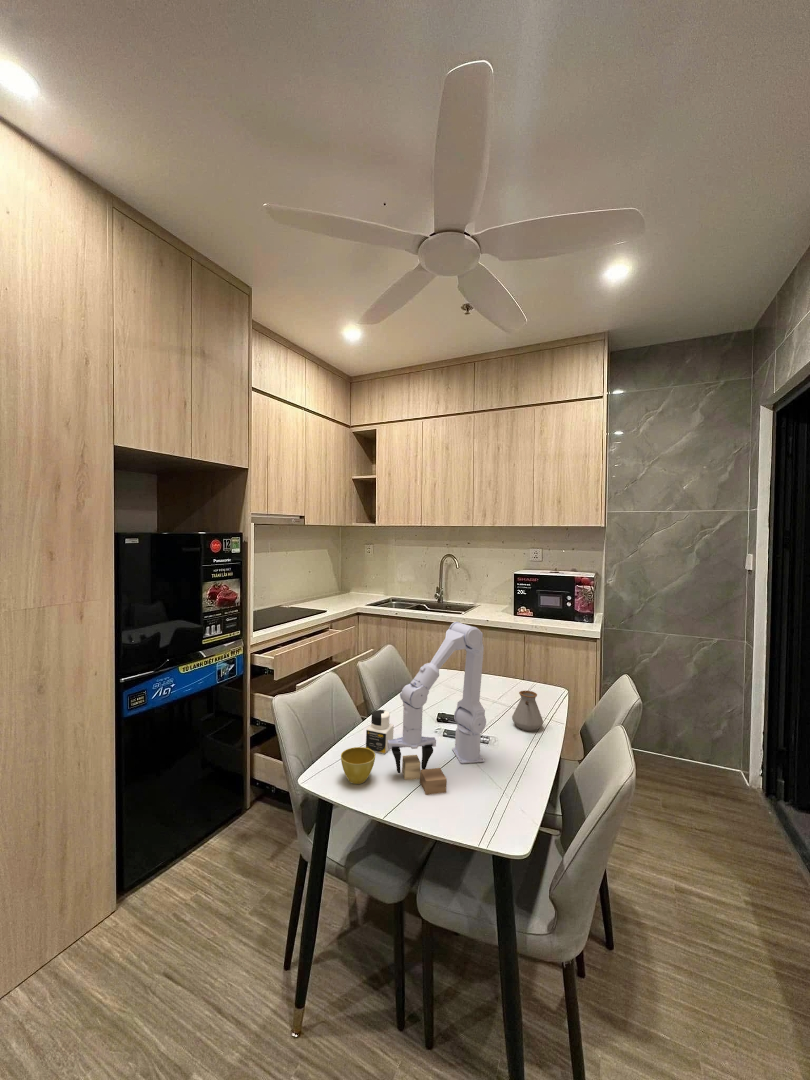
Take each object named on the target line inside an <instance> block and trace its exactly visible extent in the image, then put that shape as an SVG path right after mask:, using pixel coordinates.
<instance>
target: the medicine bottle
mask: <svg viewBox="0 0 810 1080" xmlns="http://www.w3.org/2000/svg"><path fill="white" fill-rule="evenodd" d="M370 723H371V724H370V725H369V726H368V727H367V728H366V734H365V735H366V736H365V748H368V749H370V750H372V751H373V752H374V753H378V754H383V755H385V754H387V753H388V751H389V750H390V749H388V746H387V744H388V740H392V739H394V724H393V723H390V712H389V711H387V710H384V709H377V710H374V711H373V712H372V713H371V722H370Z"/></svg>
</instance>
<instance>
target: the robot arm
mask: <svg viewBox="0 0 810 1080" xmlns="http://www.w3.org/2000/svg"><path fill="white" fill-rule="evenodd" d="M483 635H484V633H483V632H482V631H481V630H480V629H479V628H478V627H476V626H472V625H469V624H465V623H461V622H460V621H454V622H452V623H451V624H450V626H449V628H448V629H447V630H446V631H445V638H444V639H443V641H442V643H441V645H440V646H439V647H438V650H437V651H436V652H435V654H434V655H433V657H432V659H431V661H430V662H427V663H424V664H423V665H422V666H421V667H420V668H419V671H418V672H417V673H416V675H414V678H413V679H412V680H411V681H410V683H408V684H406V685H404V686H403V688H402V690H401V692H400V693H399V698H400V700H401V701H402V706H403V716H402V736H401V737H397V738H393V739H392V740H388V744H387V746H388V749H389V750H391V752H392V755H393V757H394V760H395V765H396V767H395V768H396V772H397V774H400V773H401V758H402V752H401V749H400V748H410V749H412V750H416V749H418V748H419V747H421V763H420V767H421V770H422V769H427V765H428V763H429V760H430V758H431V756H432V755H433V753H434V747H437V739H436V737H429V736H423V735H422V733H423V712H424V711H423V706H424V705H425V704H426V703H427V701H428V695H429V693H430V690H431V688H432V687H433V686H434V684H435V682H436V681H437V680H438V678H439V677H440V669H441V668H442V667H443V666H444V664H445V663H446V662H447V661H448V660H449V658H451V656H452V654H453V653H454V652H456V651H458V650H465V653H466V654H465V663H464V664H465V665H464V675H463V676H464V677H463V689H462V690H463V691H462V698H461V699H460V700H459V701H458V702H457V703H456V708H455V711H454V714H453V719H454V721H455V723H456V724H457V728H456V729H455V737H454V747H452V748H451V749H452V751H453V753H454V754H455V757H456V758H457V759H458V760H457V761H459V763H460V764H473V763H484V762H485V759H484V757H483V756H482V755H481V734H482V733H483V731H485V728H486V726H487V718H486V715H485V712H486V709H485V708H484V706H483V705H482V703H481V701H480V698H481V685H482V674H483V672H482V671H483V662H484V651H485V650H484V649H485V648H484V644H483V643H484V642H483Z"/></svg>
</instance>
